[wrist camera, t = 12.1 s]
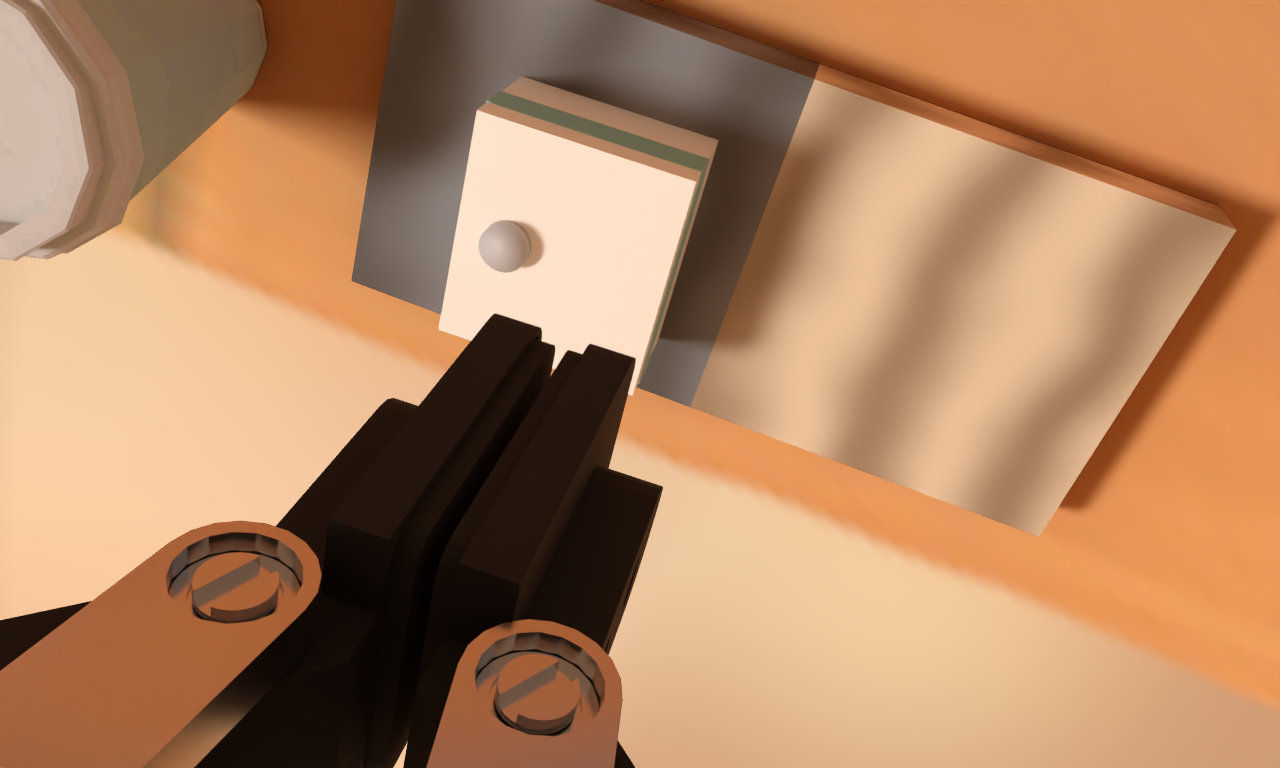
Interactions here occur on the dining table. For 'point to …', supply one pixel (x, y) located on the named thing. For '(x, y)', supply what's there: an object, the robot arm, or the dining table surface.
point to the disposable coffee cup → (108, 105)
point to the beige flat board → (825, 246)
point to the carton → (573, 221)
